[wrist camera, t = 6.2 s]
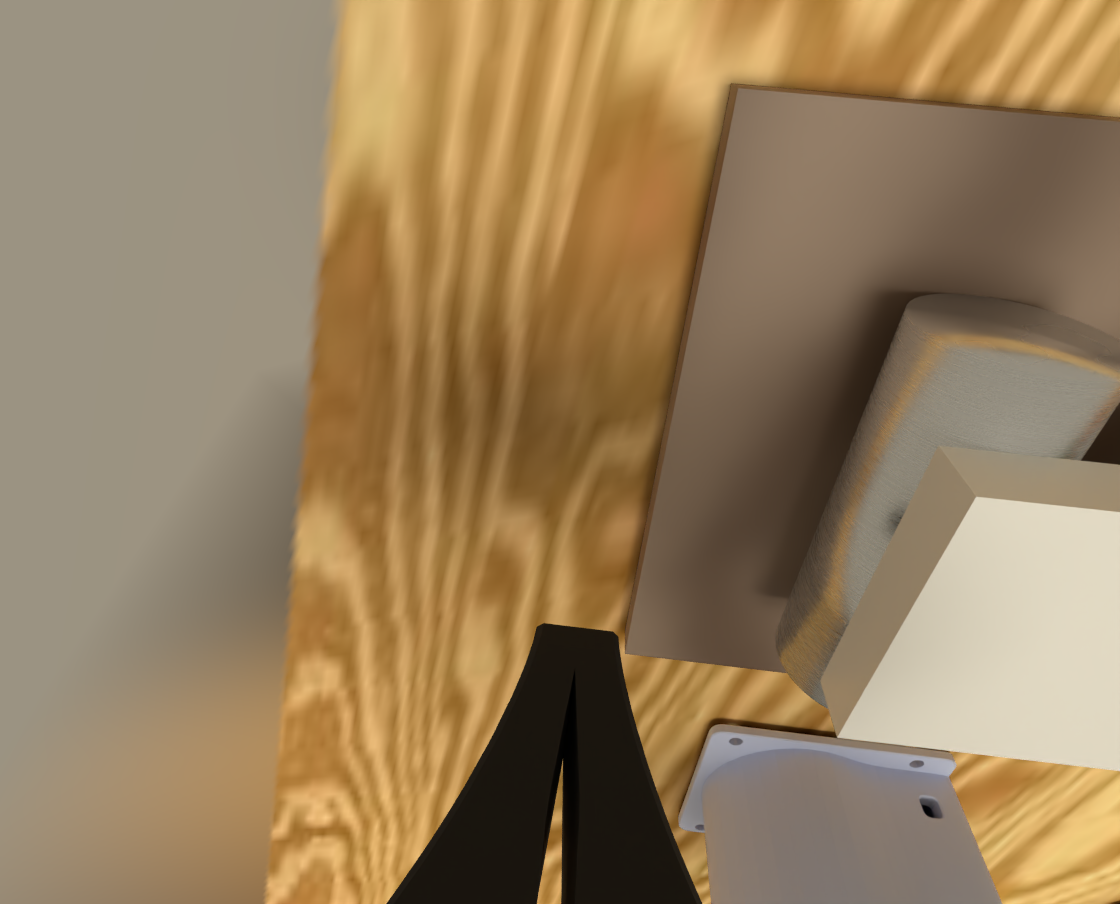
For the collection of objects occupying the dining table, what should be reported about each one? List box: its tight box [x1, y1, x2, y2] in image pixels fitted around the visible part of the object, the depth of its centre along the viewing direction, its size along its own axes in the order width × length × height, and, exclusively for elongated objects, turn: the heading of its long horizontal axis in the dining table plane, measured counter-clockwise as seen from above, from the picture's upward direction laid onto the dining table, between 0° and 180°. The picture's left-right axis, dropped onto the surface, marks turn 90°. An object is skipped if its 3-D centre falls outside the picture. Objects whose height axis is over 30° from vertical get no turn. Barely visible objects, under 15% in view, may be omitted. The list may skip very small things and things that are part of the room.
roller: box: [775, 294, 1120, 708], centre depth 15 cm, size 4×10×4 cm
